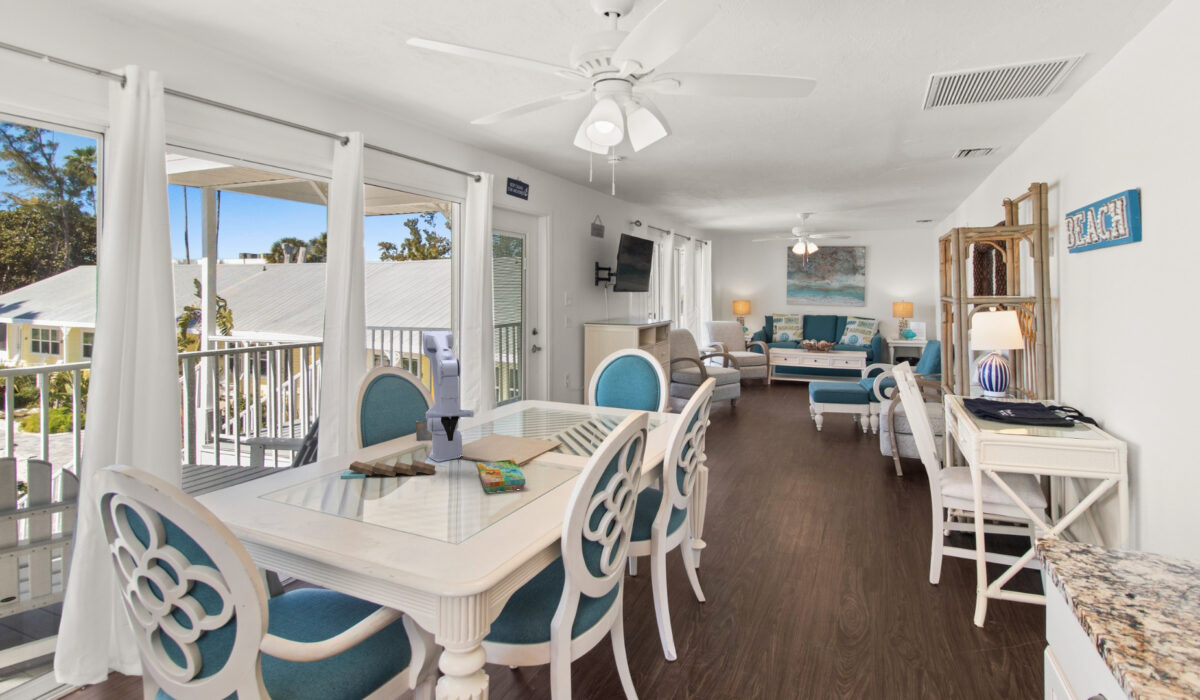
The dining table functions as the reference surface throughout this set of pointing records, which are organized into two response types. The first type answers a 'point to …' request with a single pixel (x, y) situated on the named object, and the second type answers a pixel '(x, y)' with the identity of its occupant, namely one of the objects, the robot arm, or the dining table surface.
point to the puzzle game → (500, 475)
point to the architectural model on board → (423, 431)
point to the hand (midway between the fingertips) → (450, 440)
